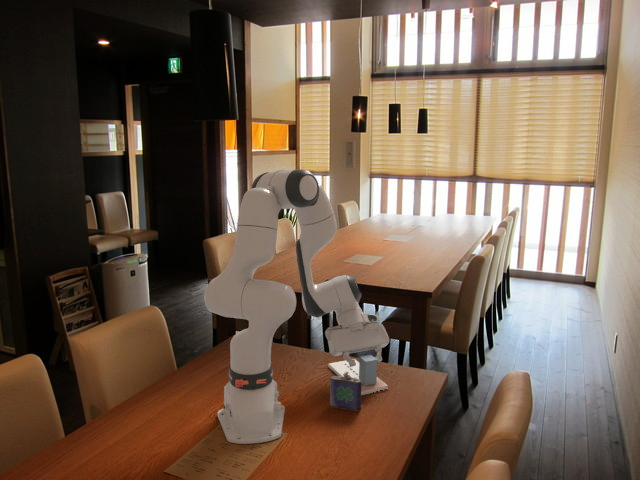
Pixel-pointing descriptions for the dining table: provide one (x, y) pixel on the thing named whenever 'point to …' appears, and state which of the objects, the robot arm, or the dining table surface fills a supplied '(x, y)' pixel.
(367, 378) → the grey rectangular block
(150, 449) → the dining table surface
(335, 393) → the flask
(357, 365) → the board
